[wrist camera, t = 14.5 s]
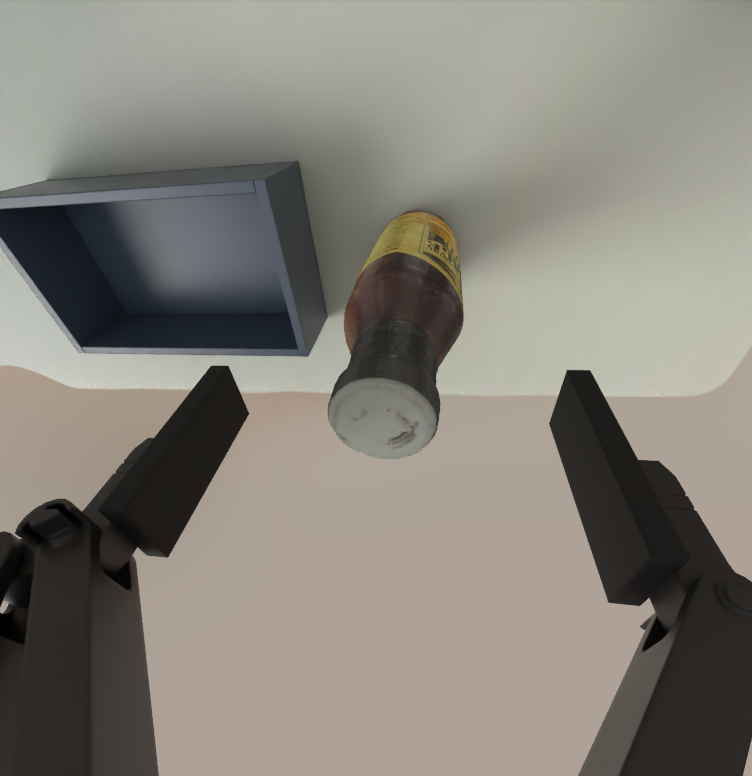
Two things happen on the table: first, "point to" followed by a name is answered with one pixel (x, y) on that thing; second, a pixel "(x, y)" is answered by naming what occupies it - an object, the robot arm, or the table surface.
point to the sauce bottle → (399, 338)
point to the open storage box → (172, 260)
